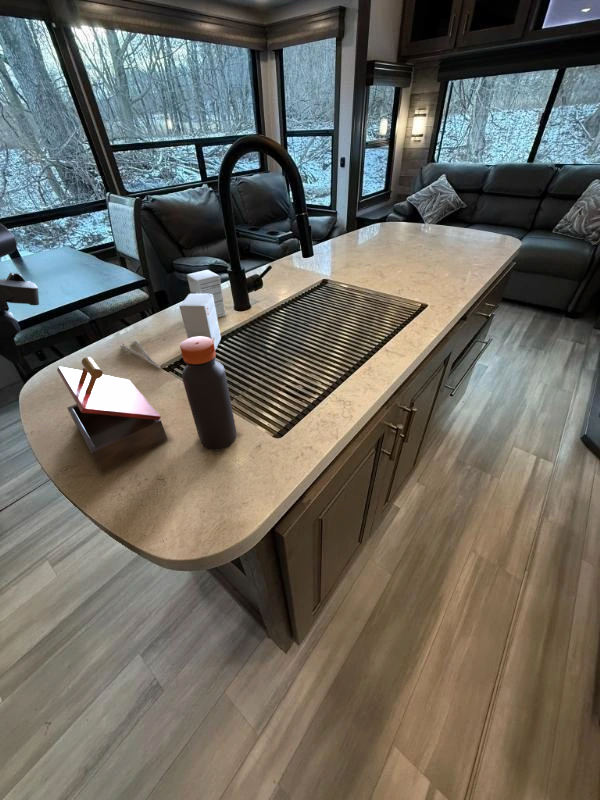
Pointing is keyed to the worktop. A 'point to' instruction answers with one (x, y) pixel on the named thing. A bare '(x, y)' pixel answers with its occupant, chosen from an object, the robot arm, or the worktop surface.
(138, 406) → the lid
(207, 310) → the small box
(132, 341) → the tweezers
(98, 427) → the valve box
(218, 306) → the white packaging box
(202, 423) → the dark bottle
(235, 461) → the worktop surface
